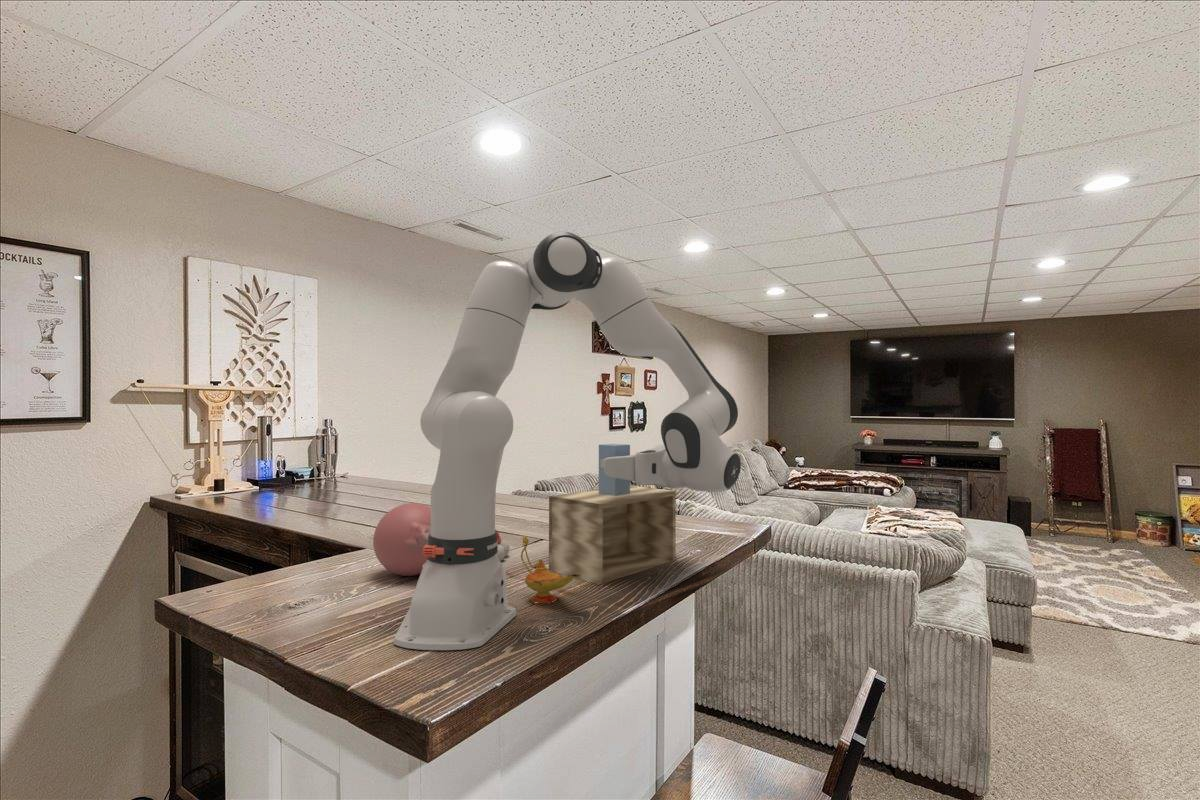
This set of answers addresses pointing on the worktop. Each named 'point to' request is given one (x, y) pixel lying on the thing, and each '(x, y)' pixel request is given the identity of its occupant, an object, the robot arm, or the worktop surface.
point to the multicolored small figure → (502, 548)
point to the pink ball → (403, 538)
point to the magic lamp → (543, 579)
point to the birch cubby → (611, 533)
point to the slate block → (606, 482)
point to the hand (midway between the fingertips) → (616, 461)
